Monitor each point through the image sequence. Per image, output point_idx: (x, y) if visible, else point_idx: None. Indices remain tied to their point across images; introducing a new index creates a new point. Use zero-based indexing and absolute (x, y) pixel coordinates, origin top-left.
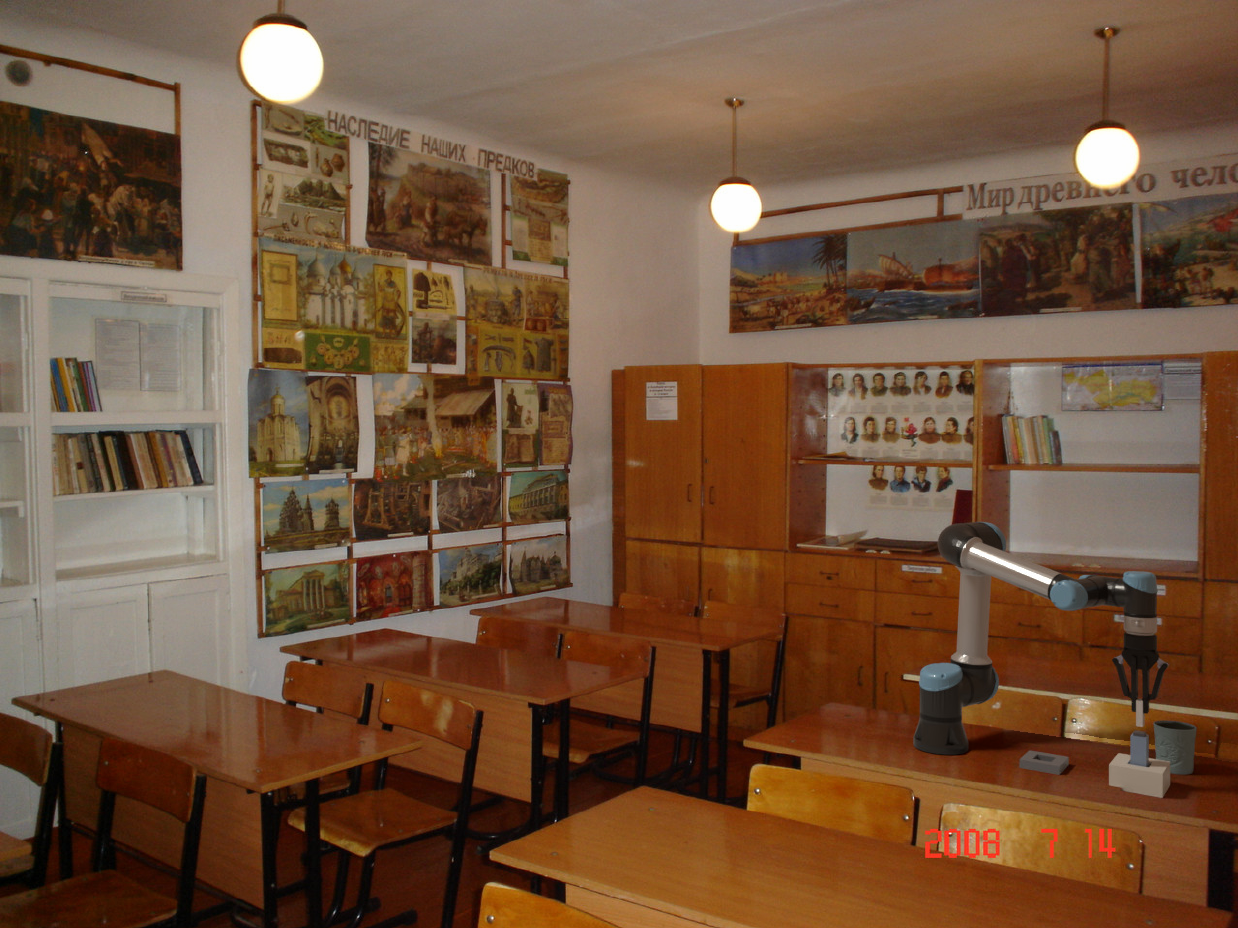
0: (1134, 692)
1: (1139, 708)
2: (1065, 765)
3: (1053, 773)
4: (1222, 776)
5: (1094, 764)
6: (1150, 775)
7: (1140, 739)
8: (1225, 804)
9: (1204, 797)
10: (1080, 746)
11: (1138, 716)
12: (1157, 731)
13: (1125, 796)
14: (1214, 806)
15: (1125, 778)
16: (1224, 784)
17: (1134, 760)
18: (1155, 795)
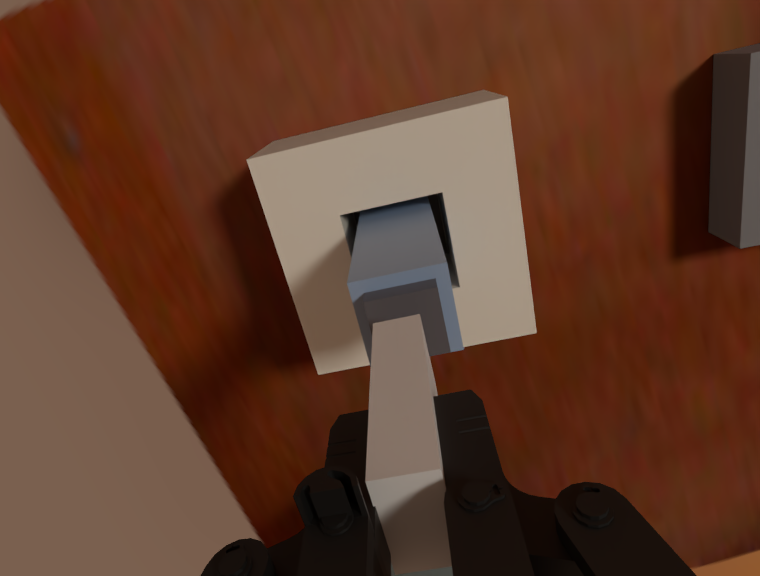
0: (479, 563)
1: (398, 412)
2: (726, 182)
3: (753, 46)
4: (262, 515)
5: (628, 351)
6: (304, 142)
7: (383, 269)
8: (98, 254)
9: (183, 276)
10: (725, 502)
11: (404, 359)
12: (445, 573)
13: (385, 27)
14: (105, 199)
15: (418, 111)
16: (218, 451)
17: (412, 218)
18: (298, 135)
